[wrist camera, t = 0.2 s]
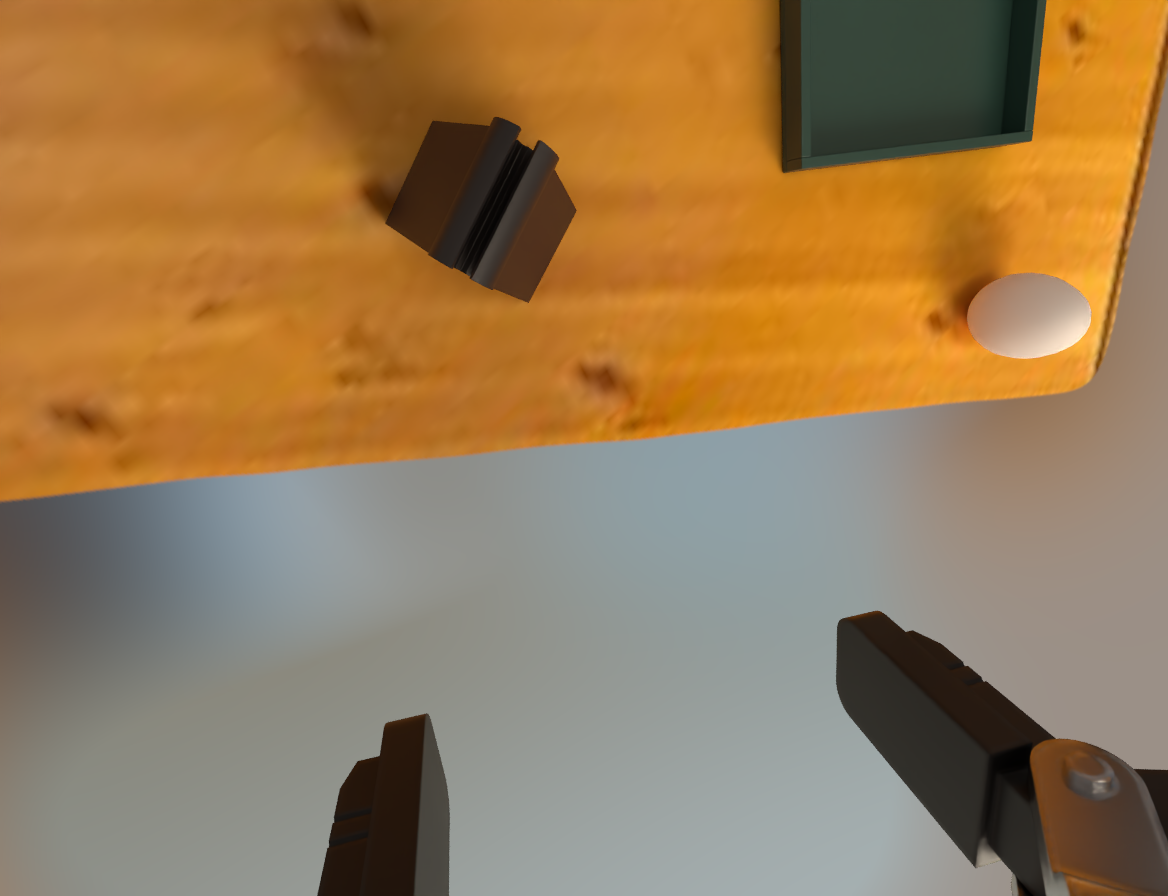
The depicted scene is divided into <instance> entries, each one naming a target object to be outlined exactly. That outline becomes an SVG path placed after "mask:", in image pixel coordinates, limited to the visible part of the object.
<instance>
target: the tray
mask: <svg viewBox="0 0 1168 896" xmlns="http://www.w3.org/2000/svg"><path fill="white" fill-rule="evenodd" d="M1045 9H1046V0H780V13H781V81H782V148H783V173H787V172H795V171H804V170H812V169H820V168H828V167H837V166H845V165H853V164H861V163H869V162H878V161H886V160H894V159H902V158H911V157H919V156H927V155H935V154H943V153H952V152H960V151H968V150H976V149H985V148H993V147H1001V146H1007V145H1013V144H1018V143H1024V142H1029V141H1032V135H1033V131H1032V130H1033V124H1034V114H1035V105H1036V95H1037V85H1038V76H1039V66H1040V57H1041V47H1042V38H1043V28H1044V18H1045Z"/></svg>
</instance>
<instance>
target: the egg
mask: <svg viewBox="0 0 1168 896" xmlns="http://www.w3.org/2000/svg"><path fill="white" fill-rule="evenodd" d="M967 322H968V327H969V330H970V332H971V334H972V336H973V338H974V339H975V340H976V341H977V342H978V343H979V344H980V345H982V346H983V347H984V348H985V349H987V350H989V351H991V352H993V353H995V354H998V355H1002V356H1007V357H1012V358H1037V357H1042V356H1046V355H1050V354H1054V353H1057V352H1059V351H1062V350H1064V349H1066V348H1068V347H1070V346H1072V345H1073V344H1075V343H1076V342H1077V341H1079V340H1080V339H1081V338H1082V337H1083V335H1084V334H1085V333H1086V331H1087V329H1088V327H1089V325H1090V322H1091V309H1090V306H1089V303H1088V301H1087V299H1086V298H1085V297H1084V296H1083V295H1082V294H1081V293H1080V291H1079V290H1077V289H1076V288H1074V287H1073V286H1071V285H1070V284H1068V283H1067V282H1065V281H1063V280H1061V279H1059V278H1056V277H1053V276H1049V275H1045V274H1038V273H1021V274H1012V275H1008V276H1005V277H1003V278H1000V279H997V280H995V281H993V282H991V283H990V284H988V285H987V286H985V287H984V288H983V289H981V290H980V291H979V292H978V293H977V295H976V296H975V297H974V299H973V300H972V302H971V304H970V306H969V308H968V314H967Z"/></svg>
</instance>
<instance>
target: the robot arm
mask: <svg viewBox="0 0 1168 896" xmlns="http://www.w3.org/2000/svg"><path fill="white" fill-rule="evenodd" d="M836 669H837V670H836V684H837V690H838V694H839V697H840V700H841V702H842V704H843V707H844V709H845V710H846V712H847V713H848V715H849V716H850V717H851V719H852V720H853V721H854V722H855V723H856V725H857V726H858V727H859V728H860V730H861V731H862V732H863V733H864V734H865V736H866V737H867V738H868V739H869V740H870V741H871V743H872V744H873V745H874V746H875V748H876V749H877V750H878V751H879V752H880V754H881V755H882V756H883V757H884V758H885V760H886V761H887V762H888V763H889V764H890V766H891V767H892V768H893V769H894V770H895V772H896V773H897V774H898V775H899V776H900V778H901V779H902V780H903V781H904V783H905V784H906V785H907V786H908V787H909V788H910V790H911V791H912V792H913V793H914V794H915V796H916V797H917V798H918V799H919V800H920V802H921V803H922V804H923V805H924V807H925V808H926V809H927V810H928V811H929V812H930V814H931V815H932V816H933V817H934V819H935V820H936V821H937V822H938V823H939V825H940V826H941V827H942V828H943V830H945V832H946V833H947V834H948V835H949V837H950V838H951V839H952V840H953V842H954V843H955V844H956V845H957V846H958V848H959V849H960V850H961V851H962V852H963V853H964V855H965V856H966V857H967V858H968V860H969V861H970V862H971V863H972V864H973V866H974V867H975V868H978V867H982V866H985V865H988V864H991V863H995V862H998V861H1001V860H1002V861H1003V862H1004V863H1005V865H1006V866H1007V867H1008V868H1009V869H1010V870H1011V871H1012V872H1013V874H1012V881H1011V890H1012V896H1168V770H1148V769H1147V770H1146V769H1145V770H1144V769H1133V768H1132V767H1130V766H1129V765H1128V764H1127V763H1126V762H1124V761H1123V760H1121V759H1120V758H1118V757H1117V756H1115V755H1113V754H1112V753H1109V752H1108V751H1106V750H1103V749H1101V748H1099V747H1097V746H1094V745H1091V744H1088V743H1085V742H1081V741H1076V740H1070V739H1056V738H1054V737H1053V736H1052V735H1051V734H1049V733H1048V732H1047V731H1046V730H1044V729H1043V728H1042V727H1041V726H1040V725H1039V724H1037V723H1036V722H1035V721H1034V720H1032V719H1031V718H1030V717H1029V716H1028V715H1026V714H1025V713H1024V712H1023V711H1022V710H1020V709H1019V708H1018V707H1017V706H1015V705H1014V704H1013V703H1012V702H1011V701H1010V700H1008V699H1007V698H1006V697H1005V696H1003V695H1002V694H1001V693H1000V692H999V691H997V690H996V689H995V688H994V687H993V686H991V685H990V684H989V683H988V682H986V681H985V682H983V680H982V678H981V676H979V675H978V674H977V673H976V672H974V671H973V670H972V669H971V668H970V667H969V666H964V664H963V662H962V661H961V660H960V659H959V658H958V657H956V656H955V655H954V654H953V653H951V652H950V651H949V650H948V649H947V648H946V647H944V646H943V645H942V644H940V643H938V642H936V641H934V640H932V639H930V638H928V637H925V636H923V635H921V634H919V633H917V632H915V631H908V632H905V631H904V630H903V629H902V628H900V627H899V626H898V625H897V624H896V623H894V622H893V621H892V620H891V619H890V618H889V617H887V615H885V614H884V613H882V612H880V611H873V612H868V613H864V614H860V615H856V616H851V617H847V618H843V619H841V620H840V621H839V623H838V626H837V668H836ZM449 826H450V813H449V798H448V791H447V784H446V778H445V774H444V770H443V766H442V762H441V758H440V754H439V750H438V746H437V742H436V739H435V734H434V731H433V726H432V723H431V719H430V716H429V715H428V714H423V715H418V716H414V717H409V718H405V719H401V720H397V721H392V722H388V723H386V724H385V727H384V731H383V738H382V745H381V751H380V756H378V757H374V758H370V759H365V760H361V761H358V762H357V763H356V765H355V766H354V768H353V769H352V771H351V772H350V774H349V776H348V777H347V779H346V780H345V782H344V783H343V785H342V786H341V788H340V792H339V796H338V801H337V805H336V811H335V815H334V823H333V825H332V830H331V834H330V838H329V848H327V853H326V858H325V862H324V867H323V871H322V876H321V881H320V886H319V890H318V895H317V896H449V828H450V827H449Z"/></svg>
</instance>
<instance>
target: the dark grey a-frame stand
mask: <svg viewBox="0 0 1168 896" xmlns="http://www.w3.org/2000/svg"><path fill="white" fill-rule="evenodd" d="M520 131H521V128H520V127H519V126H518V125H516V124H514V123H512V122H510V121H507V120H505V119H502V118H499V117H494V118H493V120H492V122H491V124H490V126H484V125H473V124H462V123H451V122H440V121H433V122H432V124H431V126H430V128H429V130H428V132H427V134H426V137H425V139H424V141H423V143H422V145H421V147H420V150H419V152H418V154H417V156H416V158H415V160H414V163H413V165H412V167H411V169H410V171H409V173H408V175H407V178H406V180H405V182H404V184H403V186H402V188H401V191H400V193H399V195H398V197H397V199H396V201H395V203H394V206H393V208H392V210H391V212H390V214H389V216H388V219H387V221H386V223H385V224H387V225H388V226H390V227H391V228H393V229H394V230H396V231H397V232H399V233H400V234H402V235H403V236H405V237H406V238H408V239H409V240H411V241H412V242H414V243H415V244H416V245H418V246H419V247H421V248H422V249H424V250H425V251H427V252H428V255H430V256H431V257H433V258H434V259H436V260H438V261H439V262H441V263H443V264H444V265H446V266H448V267H450V268H452V269H453V267H454V268H456V269H458V270H460V271H462V272H463V273H465V274H467V275H469V276H470V279H471V280H473V281H475V282H477V283H479V284H481V285H483V286H485V287H487V288H489V289H491V290H493V288H494V289H496V290H499V291H501V292H504V293H506V294H508V295H511V296H513V297H516V298H518V299H520V300H523V301H525V302H528V303H529V301H530V299H531V297H532V295H533V293H534V291H535V289H536V288H537V286H538V284H539V282H540V280H541V278H542V276H543V274H544V272H545V270H546V268H547V266H548V265H549V263H550V261H551V259H552V257H553V255H554V253H555V251H556V249H557V247H558V245H559V243H560V242H561V240H562V238H563V236H564V234H565V232H566V230H567V228H568V226H569V224H570V222H571V220H572V218H573V217H574V215H575V213H576V211H577V210H576V208H575V207H574V205H573V203H572V201H571V199H570V197H569V195H568V194H567V192H566V190H565V188H564V186H563V184H562V182H561V181H560V179H559V177H558V175H557V173H556V171H555V169H554V168H555V166H556V164H557V162H558V160H559V157H558V156H557V154H556V153H555V152H554V151H553V150H552V149H551V148H550V147H549V146H547V145H546V144H545V143H544V142H542V141H540V140H538V142H537V144H536V146H535V148H534V150H532V149H530V148H529V147H527V146H524V145H522V144H521V143H520V142H519V141H518V140H516V139H517V137H518V135H519V133H520Z"/></svg>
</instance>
